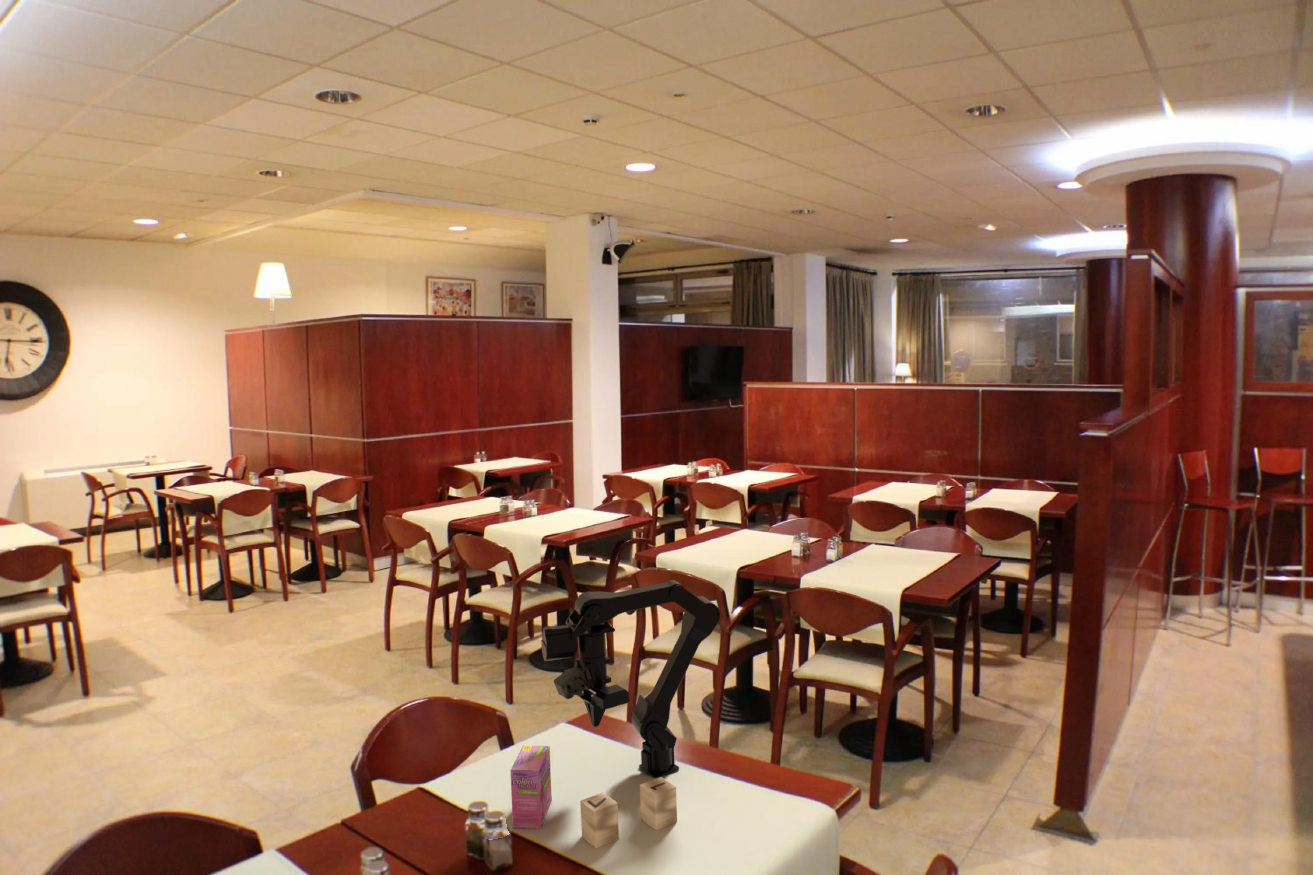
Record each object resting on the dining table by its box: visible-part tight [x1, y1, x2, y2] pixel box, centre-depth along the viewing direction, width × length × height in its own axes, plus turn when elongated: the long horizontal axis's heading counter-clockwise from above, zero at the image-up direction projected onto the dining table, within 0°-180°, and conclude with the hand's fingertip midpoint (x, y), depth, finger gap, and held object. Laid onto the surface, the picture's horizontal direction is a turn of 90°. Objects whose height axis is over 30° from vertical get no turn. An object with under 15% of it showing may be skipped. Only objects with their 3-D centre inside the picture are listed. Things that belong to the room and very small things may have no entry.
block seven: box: [579, 792, 620, 849], centre depth 160 cm, size 5×5×7 cm
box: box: [510, 745, 553, 830], centre depth 169 cm, size 10×6×12 cm, turn 175°
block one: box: [639, 776, 678, 831], centre depth 165 cm, size 5×5×7 cm
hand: (595, 725), depth 181 cm, fingers closed
